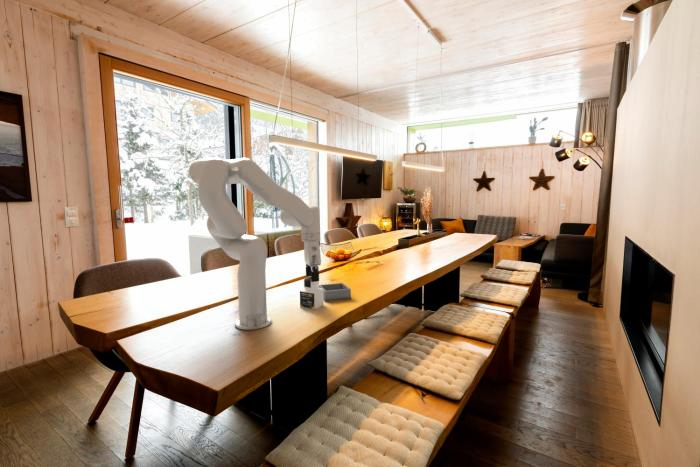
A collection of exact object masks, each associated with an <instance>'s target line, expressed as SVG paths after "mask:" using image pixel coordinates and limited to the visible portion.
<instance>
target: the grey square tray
mask: <svg viewBox="0 0 700 467" xmlns="http://www.w3.org/2000/svg"><path fill="white" fill-rule="evenodd" d="M319 288H323V293H324V303H327V302H335V301H345V300H346V301H347V300H351V299H352V295H351V293H352V289H351V288H350V287H349V286H348V285H346V284H345V283H344V282H336V283H328V284H327V283H325V284H319Z"/></svg>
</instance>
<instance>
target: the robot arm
mask: <svg viewBox="0 0 700 467" xmlns="http://www.w3.org/2000/svg"><path fill="white" fill-rule="evenodd" d="M188 175H189V178H190V179H191V180H192V182H194V183H195V184H197V193H198V200H199V202H200V205H201V206H202V208H203V210H204V212H206V214H207V216H208V218H207V221H206V227H207V231H208V233H209V234H210V235H211V237H212V238H213V240H214V241H215V242H216V243H217V244H218V246H219V247H220V248H221V249H222V250H223V252H224V253H225V254H226V255H227V256H228V257H230V259H233V260H236V261H239V262H238V268H237V274H236V275H237V276H236V277H237V293H238V294H237V296H238V301H237V302H238V318H237V319H236V320H235V321H234V326H235V327H236V328H237V329H240V330H247V331H248V330H249V331H250V330H252V331H253V330H259V329H262V328H265V327H268V326H270V325H271V324H272V322H273V320H272V317H271V316H269V315H268V311H267V309H268V307H267V305H268V304H267V283H266V282H267V280H266V279H267V278H266V265H267V264H266V263H267V258H268V257H267V256H268V246H267V244H266V242H265V240H263V238H261V237H259V236H257V235H251V234H246V233H247V231H248V224H247V221H246V219H245V218H244V216H243V215H242V213H241V212H240V211H239V210H238V208H237V206H236V205H235V204H234V203H233V201H232V200H231V198H230V196H229V195H228V192H227V185H233V184H235V185H237V184H241V185H242V186H243V187H245V189H247V190H248V191H249V192H250V193H251V194H252V195H254V197H256V199H258V201H260V202H262V203H264V204H266V205H268V206H271V207H274V208H277V209H279V210H281V212H280V214H279V218H280V219H279V220H281V222H282V224H283V225H285V226H288V227H300V231H301V232H300V234H301V242H303V243H304V244H303V246H304V247H303V250H304V252H303V255H304V263H305V275H306V276H305V277H311V282H316V281H319V282H320V268H319V266H322V265H321V264H322V261H321V260H322V259H321V257H322V256H321V248H320V247H321V246H320V241H321V222H320V220H321V219H320V218H321V216H320V214H321V213H320V208H319V207H318V206H316V205H315V206H314V205H312V206H311V205H310V206H308V205H307V203H306V202H304V201H303V200H302V199H301V197H299V196H298V195H296V194H295V193H293V192H291V191H290V190H288V189H286V188H284V187H283V186H281V185H280V184H278V183H277V182H276V181H275V180H273V178H271V176H270V175H268V173H266V172H265V170H263V169H262V168H261V167H260V165H259V164H257V163H256V162H255V161H254V160H252V159H250V158H248V157H240V158H234V159H233V158H232V159H222V158H220V157H217V156H214V157H213V156H211V157H206V158H199V159H198V160H195V161H193V162H192V163H191V164H190V166H189V167H188Z"/></svg>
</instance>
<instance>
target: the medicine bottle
mask: <svg viewBox="0 0 700 467" xmlns="http://www.w3.org/2000/svg"><path fill="white" fill-rule="evenodd" d="M319 285H320V280H319V281H316V282H311V276H306V277H305V278H304V279H303V288H304V289H300V290H299V306H300V308H301V309H307V310H313V311H315V310H317V309H319V308H321V307H323V306H324V305H325V301H324V293H323V288H319Z"/></svg>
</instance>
